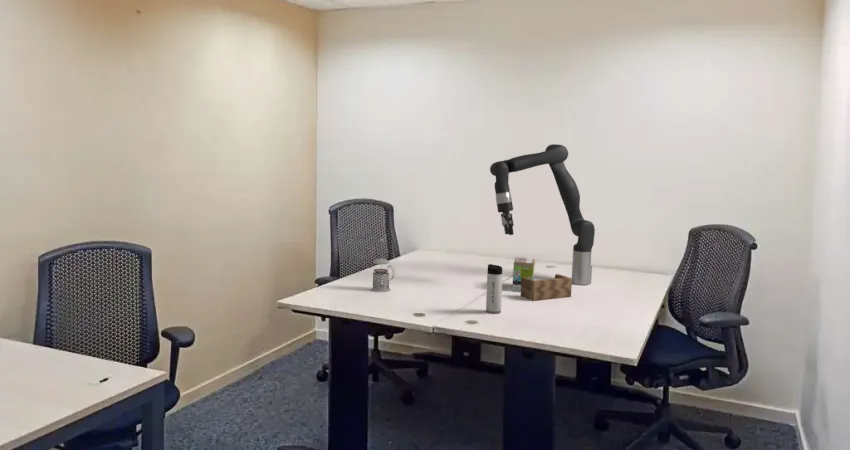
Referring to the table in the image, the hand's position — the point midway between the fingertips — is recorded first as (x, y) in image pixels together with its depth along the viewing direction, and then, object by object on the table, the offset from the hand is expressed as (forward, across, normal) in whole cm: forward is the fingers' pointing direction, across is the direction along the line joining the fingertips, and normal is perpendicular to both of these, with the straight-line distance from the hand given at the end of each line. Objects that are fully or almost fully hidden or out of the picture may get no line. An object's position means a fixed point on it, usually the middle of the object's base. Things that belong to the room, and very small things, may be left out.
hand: (509, 234), depth 313 cm
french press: (+16, -2, +66) cm, 68 cm away
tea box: (+28, +2, -3) cm, 28 cm away
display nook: (+30, -14, -9) cm, 35 cm away
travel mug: (+28, -42, +21) cm, 55 cm away
